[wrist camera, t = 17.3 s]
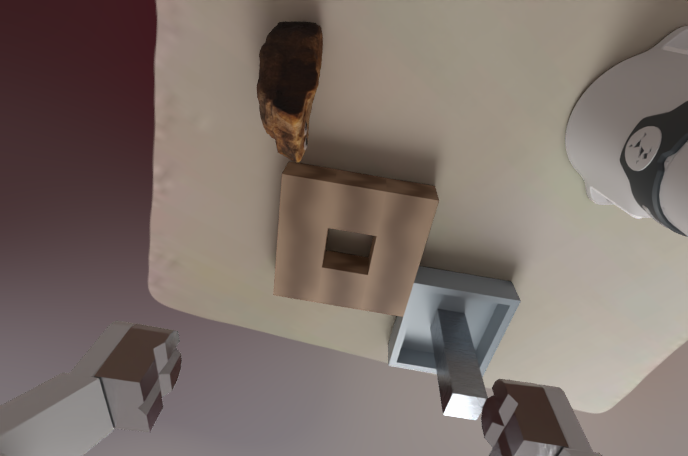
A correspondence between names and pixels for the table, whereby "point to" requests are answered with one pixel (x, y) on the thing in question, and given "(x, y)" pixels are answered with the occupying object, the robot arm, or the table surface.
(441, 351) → the pin
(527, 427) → the robot arm
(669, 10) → the table surface
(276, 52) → the decorative rock
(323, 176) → the block
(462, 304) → the tray
